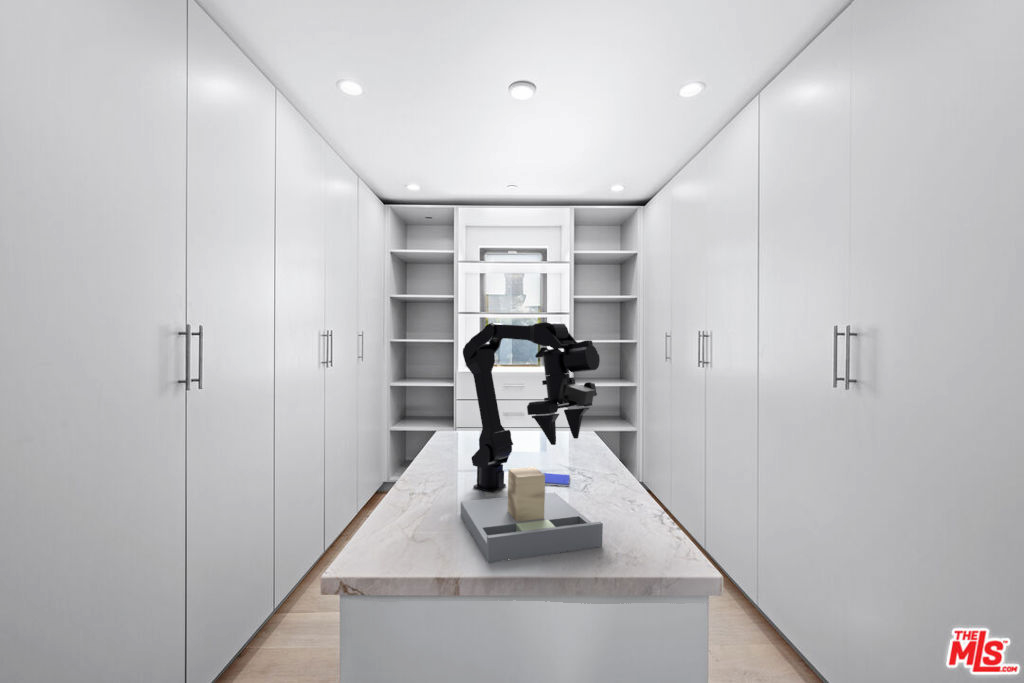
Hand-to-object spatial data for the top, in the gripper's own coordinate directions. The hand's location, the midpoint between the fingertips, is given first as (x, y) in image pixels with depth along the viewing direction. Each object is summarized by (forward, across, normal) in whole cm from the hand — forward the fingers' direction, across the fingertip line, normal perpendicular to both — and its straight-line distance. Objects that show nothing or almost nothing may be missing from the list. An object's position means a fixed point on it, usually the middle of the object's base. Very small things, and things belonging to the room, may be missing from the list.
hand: (565, 441), depth 108 cm
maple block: (+13, -14, +2) cm, 19 cm away
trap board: (+16, -14, +2) cm, 22 cm away
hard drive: (+14, +15, +19) cm, 28 cm away
